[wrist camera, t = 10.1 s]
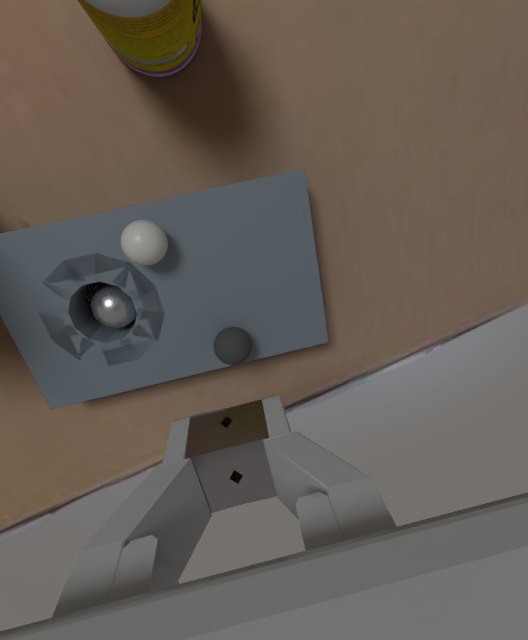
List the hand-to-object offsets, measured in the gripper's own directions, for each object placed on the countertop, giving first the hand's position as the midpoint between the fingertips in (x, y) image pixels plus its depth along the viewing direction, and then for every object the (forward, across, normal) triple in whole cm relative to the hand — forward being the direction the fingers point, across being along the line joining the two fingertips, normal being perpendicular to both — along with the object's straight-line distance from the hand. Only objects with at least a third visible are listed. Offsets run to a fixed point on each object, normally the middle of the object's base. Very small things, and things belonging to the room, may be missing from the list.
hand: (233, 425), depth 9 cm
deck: (+21, +5, +1) cm, 22 cm away
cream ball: (+16, +5, -4) cm, 17 cm away
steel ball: (+19, +9, +1) cm, 21 cm away
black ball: (+16, +1, +5) cm, 17 cm away
